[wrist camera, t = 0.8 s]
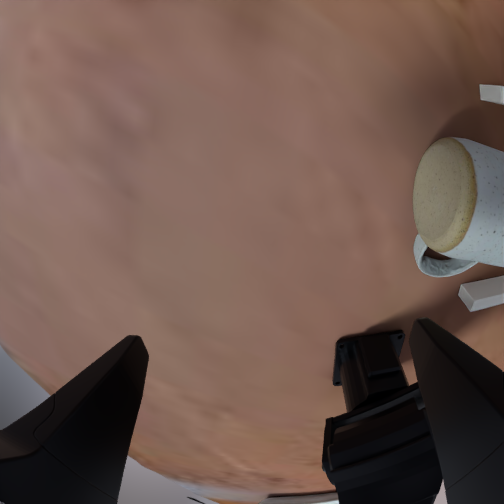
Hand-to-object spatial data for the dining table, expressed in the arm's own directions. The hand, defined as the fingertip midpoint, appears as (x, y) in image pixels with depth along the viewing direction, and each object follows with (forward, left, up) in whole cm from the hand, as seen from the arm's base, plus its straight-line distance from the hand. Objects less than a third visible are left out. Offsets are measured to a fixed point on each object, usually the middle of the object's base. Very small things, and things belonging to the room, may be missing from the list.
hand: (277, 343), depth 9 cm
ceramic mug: (-1, -13, -12) cm, 18 cm away
